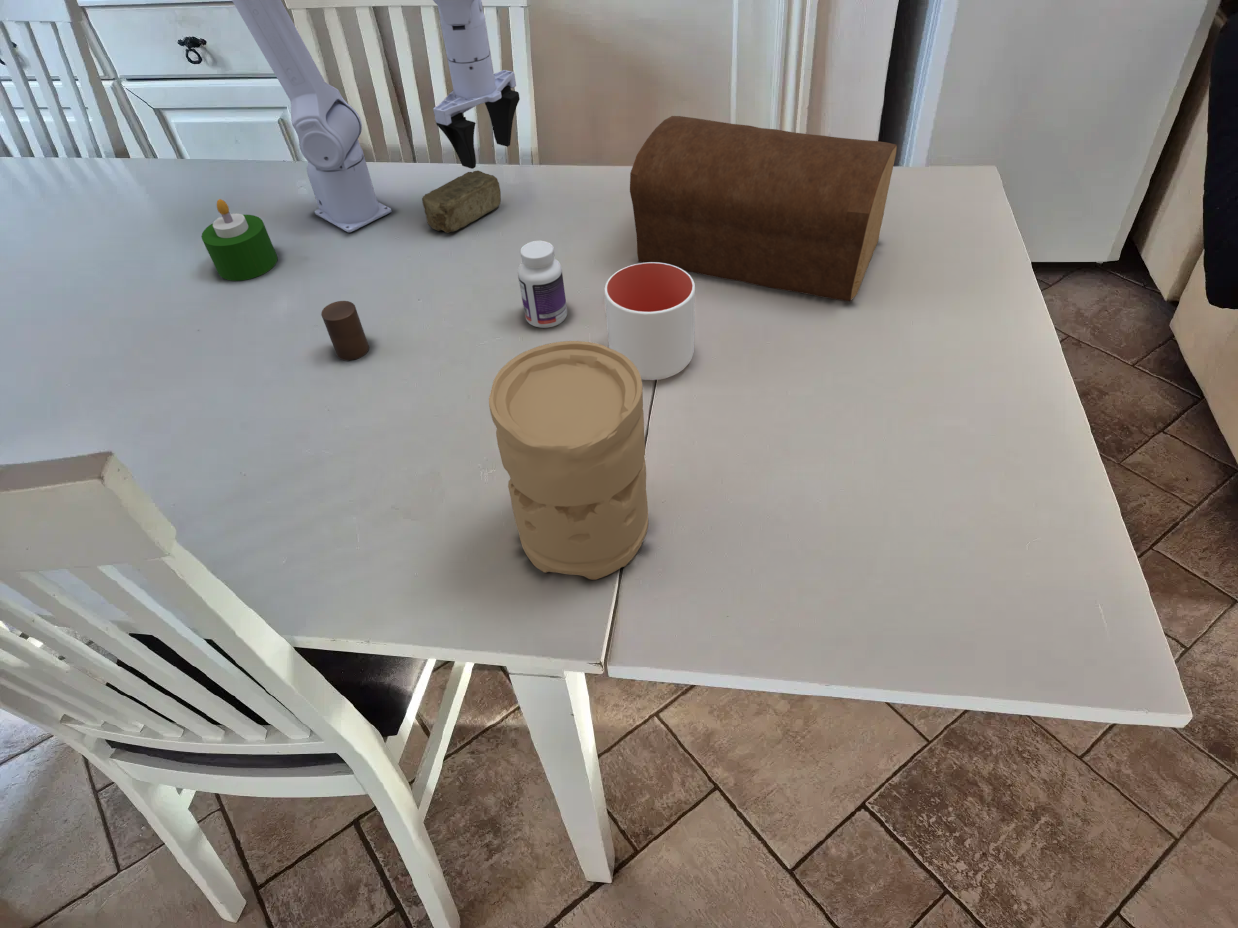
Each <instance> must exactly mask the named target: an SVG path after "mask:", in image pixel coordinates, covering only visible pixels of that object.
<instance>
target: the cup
mask: <svg viewBox="0 0 1238 928" xmlns="http://www.w3.org/2000/svg"><path fill="white" fill-rule="evenodd" d="M603 290H604V303H605V315H606V316H605V317H606V330H607V341H608V342H607V343H608V348H610V349H613V350H615V351H617V352H619V353H621V354H623V355H625V356H626V357H627V358H628V359H629V360H631V361H632V362H633V364H634V365H635V366H636V368H637V369H638V371H639V374H640V376H641V381H658V380H659V381H660V380H664V379H668V378H671V377H673V376H675V375H677V374H679V373H680V372H682V371H683V370H684V369H685V368H686V367H688V365H689V364H690V363H691V361H692V360H693V356H694V352H695V326H696V325H695V323H696V321H695V320H696V319H695V318H696V317H695V316H696V283H695V280H694V279H693V277H692V275H690V274H689V273H688V271H684V270H682V269H681V268H679V267H676V266H673V265H670V264H665V263H657V262H647V263H643V262H639V263H634V264H631V265H628V266H625V267H623V268H621V269H619V270H617V271H615V272H614V273H613V274H612V275H611V276H609V278H608V279H607V280H606V282H605V284H604V289H603Z"/></svg>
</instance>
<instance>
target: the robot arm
mask: <svg viewBox="0 0 1238 928" xmlns="http://www.w3.org/2000/svg"><path fill="white" fill-rule="evenodd" d="M432 1H433V2H434V3H435V5H436V6H437V10H438V15H439V23H440V27H441V34H442V38H443V44H444V49H445V53H446V59H447V65H448V70H449V73H450V74H449V75H450V79H451V85H452V91H451V92H449V93H448V95H447V96H446V97H445V98H443V100H442V101H441V102H440V103H439V104H437V106H434V107H433V108H432V110H433V115H434V119H435V124H436V126H437V127H438V128H439V129H440V131H441V132H442V133H443V134H444V135H445V136H446V138H447V139H448V141H449V142H450V144H451V146H452V147H453V149H454V151H455V153H456V155H457V157H458V159H459V162H460V164H461V166H462V167H465V168H468V169H471V170H473V169H474V168H476V166H477V157H476V151H475V150H476V149H475V128H476V122H475V121H473V120H468V119H467V117H466V116H464V114H465V113H466V112H468V111H470V110H471V109H473V108H475V107H477V106H479V105H482V104H484V105H485V107H486V109H487V113H488V116H489V118H490V122H491V123H490V124H491V128H492V132H493V137H494V141H495V142H496V144H497V145H500V146H504V147H507V148H508V147H510V146H511V142H512V141H511V140H512V131H513V123H514V122H513V121H514V119H515V113H516V109H517V107H518V104H519V102H520V99H521V98H520V93H519V92H518V91H517V90H513V88H515V87H517V81H516V74H515V71H511V70H507V69H502V70H501V71H498V72H494V66H493V65H494V64H493V59H492V53H491V46H490V41H489V34H488V33H489V32H488V29H487V21H486V15H485V13H484V8H483V1H482V0H432ZM231 2H232V3H233V5H234V7H235V9H237V12H238V13H239V15H240V17H241V19H242V21H243V22H244V24H245V26H246V27H247V29H248V31H249V32H250V34H251V36H252V38H253V39H254V41H255V43H256V44H257V46H258V48H259V50H260V51H261V53H262V56H263V57H264V58H265V60H266V61H267V63H268V65H269V67H270V69H271V70H272V71H273V74H274V75H275V77H276V79H277V81H278V82H279V84H280V86H281V87H282V89H283V91H284V92H285V95H286V96H287V98H288V99H289V101H290V102H289V103H290V114H291V115H290V117H291V119H290V120H291V126H292V127H293V129H294V131H295V133H296V135H297V138H298V146H299V150H300V153H301V154H302V156H303V157H304V158H305V159H306V161H307V164H306V173H307V178H308V180H309V184H310V186H311V189H312V192H313V195H314V197H315V201H316V203H317V206H318V208H317V209H315V210H314V214H315V215H316V216H317V217H320V218H321V219H323V220H325V221H326V222H329V223H330V224H332V225H334V226H336V227H338V228H339V229H341V230H343V231H345V232H346V233H352V232H355V231H356V230H359V229H360V228H362V227H365V226H366V225H368V224H370V223H373V222H374V221H376V220H378V219H380V218H382V217H384V216H386V215H389V214H390V213H392V208H391V207H389V206H387V205H385V204H383V203H381V202H380V201H378V199H377V195H376V192H375V188H374V186H373V181H372V178H371V175H370V171H369V167H368V165H367V161H366V157H365V153H364V150H363V148H362V146H361V144H360V141H359V138H360V136H361V134H362V130H363V123H362V120H361V117H360V115H359V113H358V111H356V110H355V108H354V107H352V105H350V104H349V103H348V102H347V101H346V100H345V99H344V98H343V96H342V94H341V92H340V90H339V89H338V88H336V87H335V86H333V85H331V84H330V83H327V82H326V81H325V79H324V77H323V75H322V74H321V71H320V70H319V68H318V66H317V64H316V62H315V60H314V58H313V56H312V55H311V53H310V51H309V49H308V48H307V46H306V44H305V42H304V41H303V40H304V39H302V36H301V35H300V33H299V31H298V29H297V28H296V26H295V24H294V22H293V20H292V18H291V16H290V14H289V13H288V11H287V8H286V7H285V6H284V3H283V2H282V0H231Z"/></svg>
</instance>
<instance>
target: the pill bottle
mask: <svg viewBox="0 0 1238 928" xmlns="http://www.w3.org/2000/svg"><path fill="white" fill-rule="evenodd" d="M519 251H520V258H521V263H520V264H519V266H518V267H517V278H518V282H519V289H520V295H521V300H522V306H523V311H524V317H525V321H526V322H527V323H528V324H529V325H531V326H533V327H536V328H541V329H543V328H544V329H546V328H552V327H553V328H554V327H556V326H558V325H560V324H562V322H564V321H565V320H566V318H567V315H568V306H567V299H566V290H565V285H564V284H565V283H564V276H563V268H562V267H563V266H562V264H561V263H560V261H559V260H558V259H556V258H555V257H556V255H555V247H554V245H553V244H552V243H550V242H549V241H546V240H534V241H533V240H532V241H530V242H527V243H525V244H524V245H523V246H522V247H521V248H520V250H519Z"/></svg>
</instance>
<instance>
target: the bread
mask: <svg viewBox="0 0 1238 928" xmlns="http://www.w3.org/2000/svg"><path fill="white" fill-rule="evenodd" d="M897 149H898V147H897V144H896V143H890V142H886V141H879V140H870V139H869V140H868V139H857V138H849V137H848V138H847V137H838V136H830V135H820V134H810V133H803V132H794V131H788V130H781V129H776V128H766V127H758V126H753V125H747V124H738V123H729V122H724V121H718V120H717V121H716V120H711V119H703V118H698V117H697V118H696V117H689V116H684V115H683V116H682V115H671V116H669V117H667V118H666V119H663V120H662V121H661V123H659V124H658V125H657V126H656V127H655V128H654V130H653V131H652V132H651V133H650V134H649V135H648V137H647V139H646V140H645V141H644V143H643V144H642V146H641V148H640V149H639V151H638V152H637V154H636V156H635V159H634V161H633V165H632V167H631V170H630V173H629V177H630V178H629V193H630V198H631V203H632V209H633V219H634V227H635V237H636V255H637V262H639V263H647V262H657V263H665V264H670V265H673V266H676V267H679V268H681V269H682V270H684V271H686V272H689V273H694V274H699V275H704V276H707V277H712V278H719V279H724V280H730V281H737V282H742V283H746V284H749V285H750V284H751V285H755V286H760V287H765V288H770V289H775V290H782V291H788V292H793V293H794V292H795V293H801V294H805V295H809V296H810V295H811V296H815V297H819V298H825V299H831V300H839V301H844V302H851V301H852V300H853V299H854V298H855V297H856V296H857V295H858V293H859V290H860V287H861V285H862V283H863V279H864V277H865V275H866V272H867V270H868V267H869V265H870V262H871V260H872V257H873V255H874V253H875V250H876V248H877V245H878V242H879V239H880V234H881V229H882V224H883V220H884V214H885V209H886V204H887V199H888V193H889V188H890V185H891V180H892V179H891V178H892V174H893V170H894V167H895V166H894V164H895V160H896V155H897Z"/></svg>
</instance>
